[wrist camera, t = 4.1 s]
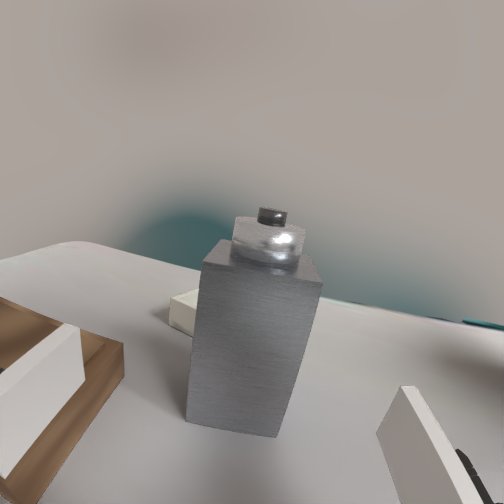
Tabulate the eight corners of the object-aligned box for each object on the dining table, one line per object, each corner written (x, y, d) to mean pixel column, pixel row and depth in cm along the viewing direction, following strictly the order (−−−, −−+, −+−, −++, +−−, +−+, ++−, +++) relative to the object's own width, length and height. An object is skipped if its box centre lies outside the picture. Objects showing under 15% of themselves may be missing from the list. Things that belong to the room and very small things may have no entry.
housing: (275, 385, 23) (317, 214, 20) (276, 437, 17) (336, 227, 14) (202, 372, 23) (228, 198, 20) (185, 421, 17) (211, 203, 14)
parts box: (213, 304, 37) (216, 281, 36) (256, 322, 34) (261, 298, 34) (168, 324, 30) (170, 297, 29) (216, 348, 27) (220, 320, 27)
